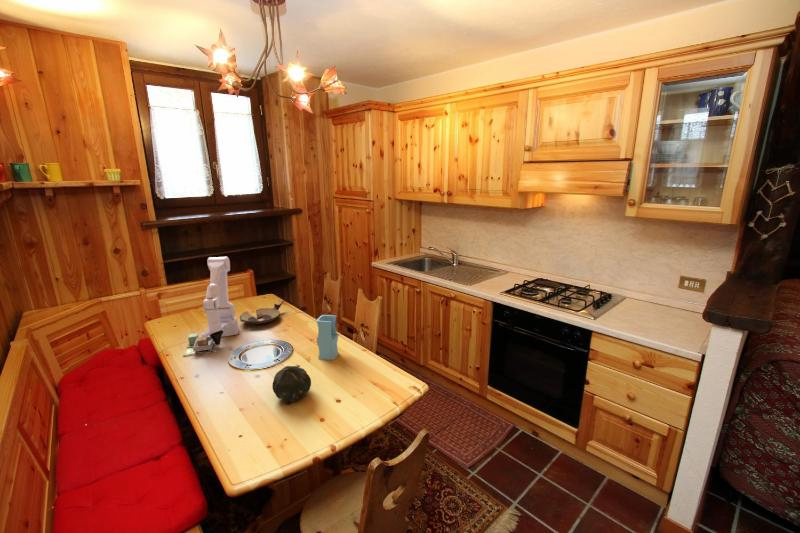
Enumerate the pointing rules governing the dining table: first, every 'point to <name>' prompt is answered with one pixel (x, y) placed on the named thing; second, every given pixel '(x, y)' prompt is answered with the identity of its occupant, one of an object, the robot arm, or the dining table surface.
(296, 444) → the dining table surface
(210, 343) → the grey shallow tray
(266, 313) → the broken bowl
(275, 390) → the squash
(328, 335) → the vase
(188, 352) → the rails
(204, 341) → the copper block
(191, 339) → the green block
